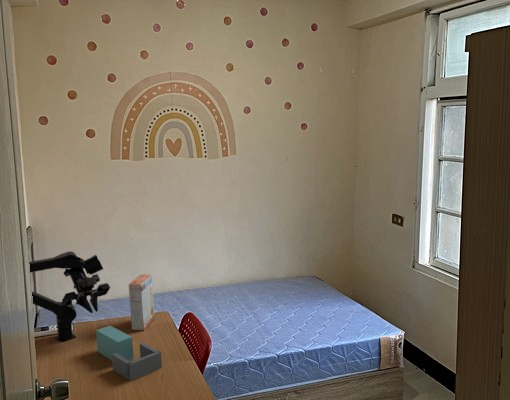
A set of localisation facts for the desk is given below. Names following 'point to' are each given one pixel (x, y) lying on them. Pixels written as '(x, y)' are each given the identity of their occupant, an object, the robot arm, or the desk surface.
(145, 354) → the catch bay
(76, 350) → the desk surface
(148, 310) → the cracker box
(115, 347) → the teal block
